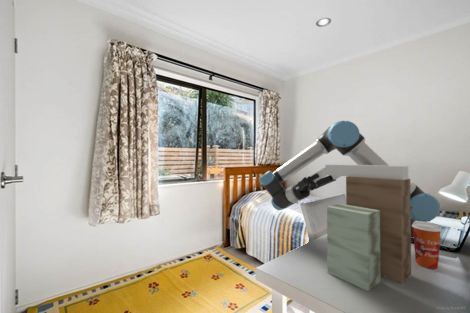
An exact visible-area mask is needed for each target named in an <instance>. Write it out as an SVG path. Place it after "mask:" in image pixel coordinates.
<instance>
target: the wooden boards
mask: <svg viewBox="0 0 470 313" xmlns="http://www.w3.org/2000/svg"><path fill="white" fill-rule="evenodd" d="M410 183H411V178H408V179H406V180H396V179H380V178H365V177H350V176H345V184H346V185H345V191H346V192H345V195H346V196H345V199H346V200H345V201H346V203H345V204H344V203H338V204H332V205H328V206H327V207H326V215H327V216H326V233H327V234H326V236H327V237H326V242H327V244H326V246H327V248H326V249H327V250H326V251H327V254H326V255H327V261H326V262H327V264H326V265H327V267H326V268H327V273H328V274H330V275H333V277H337V278H339V279H341V280H342V281H345V282H347V283H349V284H351V285H353V286H356V287H358V288H359V289H362V290H364V291H366V292H369V291H371V290H372V289H374V288H375V286H377V285H378V284H379V283H380V282H381V279H382V278H381V276H382V277H384V278H387V279H389V280H392V281H394V282H397V283H400V284H403V283H404V282H406V280H407V279H409V278H410V277H411V276H412V238H411V201H410Z"/></svg>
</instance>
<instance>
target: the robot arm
mask: <svg viewBox="0 0 470 313" xmlns="http://www.w3.org/2000/svg"><path fill="white" fill-rule="evenodd" d="M365 141H366V137H365V136H364V135H363V134H361V132H360V129H359V128H358V126H357V125H356V123H354V122H352V121H350V120H340V121H339V120H338V121H336V122H334V123H332V124H331V125H330V126H329V127H328V128H327V129H326V130H325V131H324V132H323V133H322V134H321V135H320V136H318V137H317V138H316V139H315V140H314V142H313V143H312V144H310V145H309V146H307V147H306V148H305V149H303V150H302V151H300V152H299V153H298V154H296V155H295V156H293V157H292V158H291V159H289V160H288V161H286V162H285V163H283V165H281V166H280V167H278V168H277V169H276V170H274V171H271V170H268V171H266V172H265V173H264V174H263V175H261V176H260V177H259V178H258V181H259V182H260V183H261V185H262V186H263V188H264V189H265V190H266V191H267V193H269V195H270V197H271V201H270V202H271V205H272V207H273V208H274V209H275V210H276V211H283V210H285V209H288V208H289V207H290V206H293V205H295V204H299V202H300V201H302V200H304V199H306V198H309V196H310V195H311V192H312V191H314V190H318V189H319V188H321V187H323V186H326V185H328V184H331V183H332V182H335V181H337V179H339V178H340V177H342V176H335V175H328V172H327V170H326V168H325V167H323V168H321V169H320V170H318V171H316V172H315V173H313V174H312V175H310V176H304V177H303V178H302V179H301V180H299V181H297V182H296V183H294V184H293V185H291V186H289V187H287V188H285V187H284V186H283V184H282V183H284V182H286V181H287V180H288V179H290V178H291V177H293V176H294V175H296V174H297V173H298V172H300V171H301V170H303V169H304V168H306V167H308V166H309V165H310V164H311V163H313V162H315V160H318V158H320V157H321V156H323V155H328V154H329V153H331V152H332V151H334V150H337V151H338V152H339V153H340V154H341V155H342V156H345V157H346V156H348V157H349V158H350V159H351V160H353V162H354V163H355V164H356V165H377V166H390V165H389V163H387V162H386V161H385V160H384V159H383V158H382V157H381V156H380V155H378V153H377V152H375V151H374V149H372V148H371V147H370V146H369V145H368V144H367V143H366V142H365ZM410 201H411V237H414V235H413V227H412V224H413V222H414V221H423V222H430V221H433V220H434V219H435V218H437V217H438V215H439V214H440V209H441V205H440V202H439V200H438V199H437V198H436V197H435V196H434V195H431V194H429V193H426V192H425V191H423V190H422V189H421V188H420V187H419V186H418V185H417V184H416V183H415V182H410Z"/></svg>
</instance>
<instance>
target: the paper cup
mask: <svg viewBox="0 0 470 313" xmlns="http://www.w3.org/2000/svg"><path fill="white" fill-rule="evenodd" d="M412 227H413V235H414V238H413V243H414V245H413V246H414V258H415V263H416V265H418V266H420V267H422V268H425V269H430V270H437V269H438V268H439V257H440V243H441V232H442V231H443V229H442V227H441V226H440V225H439V224H437V223H433V222H430V221H428V222H423V221H414V222H413V224H412Z"/></svg>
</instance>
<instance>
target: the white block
mask: <svg viewBox="0 0 470 313" xmlns="http://www.w3.org/2000/svg"><path fill="white" fill-rule="evenodd" d="M324 168H326V170H327V172H328V175H327V176H329V175H335V176H341V177H348V176H350V177H365V178H380V179H396V180H406V179H409V166H408V165H389V166H377V165H358V164H325V167H324Z"/></svg>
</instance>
